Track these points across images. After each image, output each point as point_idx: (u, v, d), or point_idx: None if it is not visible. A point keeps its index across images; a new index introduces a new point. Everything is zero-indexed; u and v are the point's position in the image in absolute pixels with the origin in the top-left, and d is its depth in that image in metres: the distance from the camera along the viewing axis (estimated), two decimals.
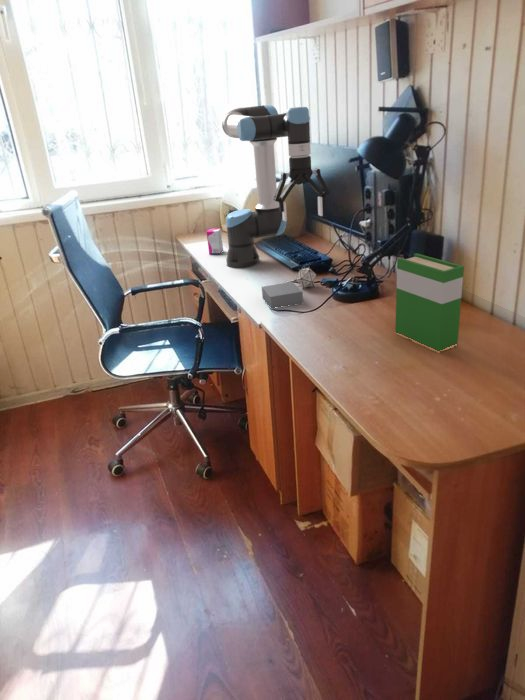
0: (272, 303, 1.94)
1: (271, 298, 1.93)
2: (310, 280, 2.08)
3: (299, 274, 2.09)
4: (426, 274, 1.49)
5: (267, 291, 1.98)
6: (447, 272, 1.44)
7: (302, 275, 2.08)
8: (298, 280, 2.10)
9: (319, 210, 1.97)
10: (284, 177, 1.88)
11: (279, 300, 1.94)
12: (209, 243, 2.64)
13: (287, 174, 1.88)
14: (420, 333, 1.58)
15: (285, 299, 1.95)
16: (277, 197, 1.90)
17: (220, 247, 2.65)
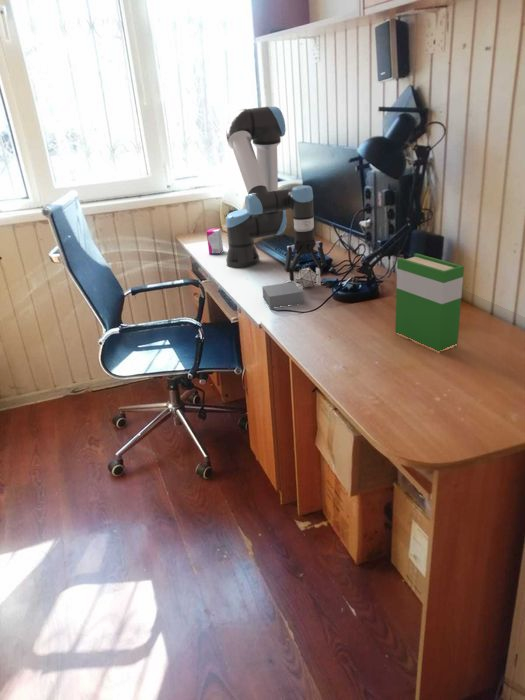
0: (271, 303, 1.94)
1: (270, 298, 1.93)
2: (311, 280, 2.08)
3: (299, 274, 2.09)
4: (426, 274, 1.49)
5: (267, 291, 1.98)
6: (447, 272, 1.44)
7: (302, 275, 2.08)
8: (298, 280, 2.10)
9: (317, 280, 2.12)
10: (290, 250, 2.03)
11: (279, 300, 1.94)
12: (209, 243, 2.64)
13: (292, 246, 2.04)
14: (420, 333, 1.58)
15: (284, 299, 1.95)
16: (287, 268, 2.06)
17: (220, 247, 2.65)
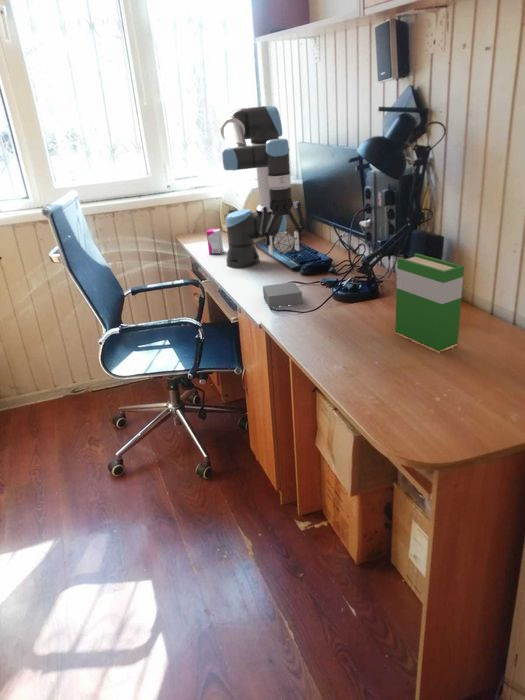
0: (270, 303, 1.94)
1: (269, 298, 1.93)
2: (288, 244, 1.91)
3: (276, 238, 1.92)
4: (426, 274, 1.49)
5: (267, 291, 1.98)
6: (447, 272, 1.44)
7: (279, 239, 1.91)
8: (275, 245, 1.93)
9: (296, 245, 1.95)
10: (265, 211, 1.86)
11: (278, 300, 1.94)
12: (209, 243, 2.64)
13: (267, 207, 1.87)
14: (420, 333, 1.58)
15: (283, 299, 1.95)
16: (262, 231, 1.89)
17: (220, 247, 2.65)
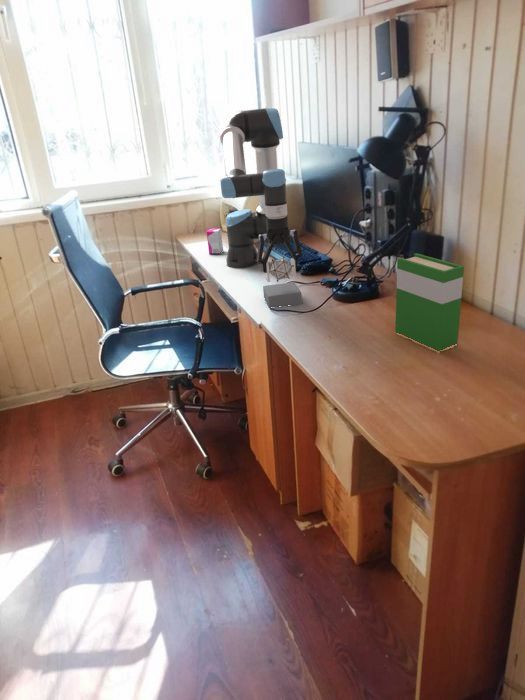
0: (270, 303, 1.94)
1: (269, 298, 1.94)
2: (285, 272, 1.93)
3: (273, 265, 1.94)
4: (426, 274, 1.49)
5: (267, 291, 1.99)
6: (447, 272, 1.44)
7: (276, 266, 1.93)
8: (272, 272, 1.95)
9: (292, 271, 1.97)
10: (262, 239, 1.88)
11: (277, 300, 1.94)
12: (209, 243, 2.64)
13: (264, 235, 1.89)
14: (420, 333, 1.58)
15: (283, 299, 1.95)
16: (259, 259, 1.91)
17: (220, 247, 2.65)
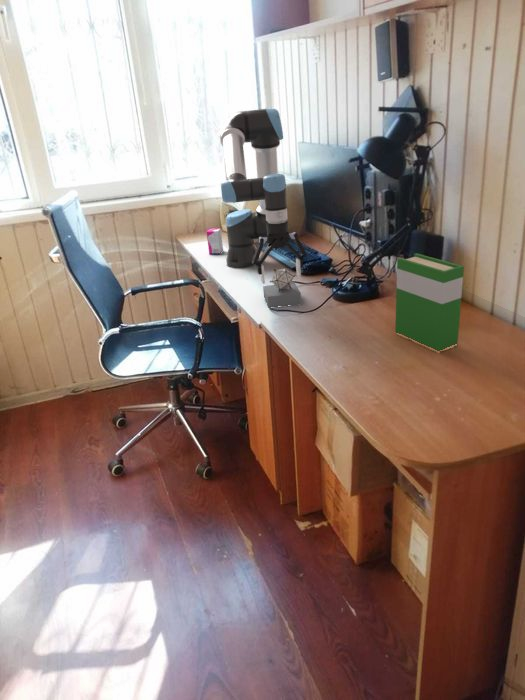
0: (269, 303, 1.94)
1: (268, 298, 1.94)
2: (287, 282, 1.94)
3: (275, 275, 1.96)
4: (426, 274, 1.49)
5: (266, 291, 1.99)
6: (447, 272, 1.44)
7: (278, 276, 1.95)
8: (274, 281, 1.97)
9: (297, 272, 1.98)
10: (261, 242, 1.89)
11: (277, 300, 1.94)
12: (209, 243, 2.64)
13: (264, 239, 1.89)
14: (420, 333, 1.58)
15: (282, 299, 1.95)
16: (255, 261, 1.91)
17: (220, 247, 2.65)
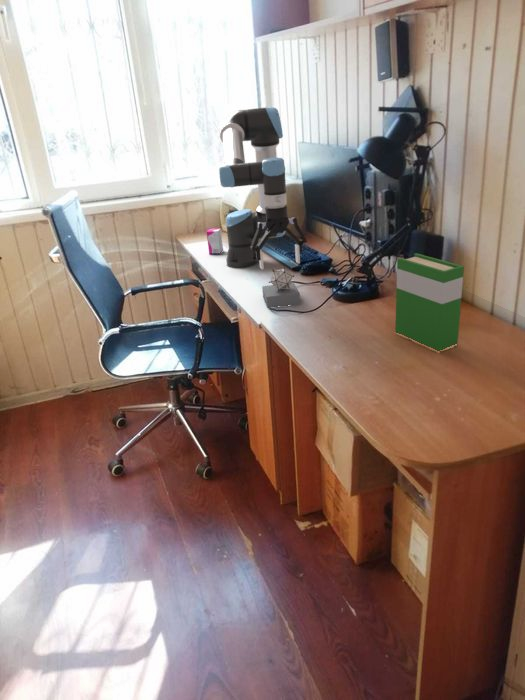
0: (268, 303, 1.95)
1: (267, 298, 1.94)
2: (286, 282, 1.94)
3: (274, 275, 1.96)
4: (426, 274, 1.49)
5: (265, 291, 1.99)
6: (447, 272, 1.44)
7: (277, 276, 1.94)
8: (273, 282, 1.97)
9: (296, 257, 1.96)
10: (260, 227, 1.87)
11: (276, 300, 1.95)
12: (209, 243, 2.64)
13: (263, 224, 1.87)
14: (420, 333, 1.58)
15: (282, 300, 1.95)
16: (253, 246, 1.89)
17: (220, 247, 2.65)
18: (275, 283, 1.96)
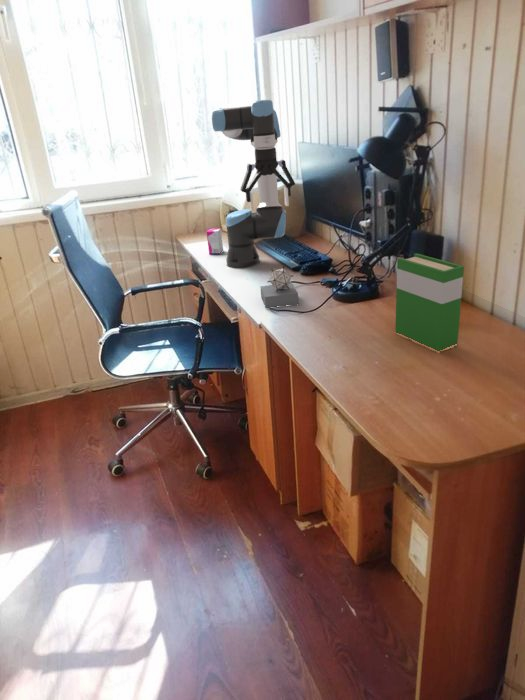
0: (267, 303, 1.95)
1: (266, 298, 1.94)
2: (284, 282, 1.95)
3: (272, 275, 1.96)
4: (426, 274, 1.49)
5: (264, 291, 1.99)
6: (447, 272, 1.44)
7: (275, 276, 1.95)
8: (271, 281, 1.97)
9: (285, 200, 2.03)
10: (250, 168, 1.93)
11: (274, 300, 1.95)
12: (209, 243, 2.64)
13: (253, 165, 1.94)
14: (420, 333, 1.58)
15: (280, 300, 1.95)
16: (243, 188, 1.96)
17: (220, 247, 2.65)
18: (274, 283, 1.96)
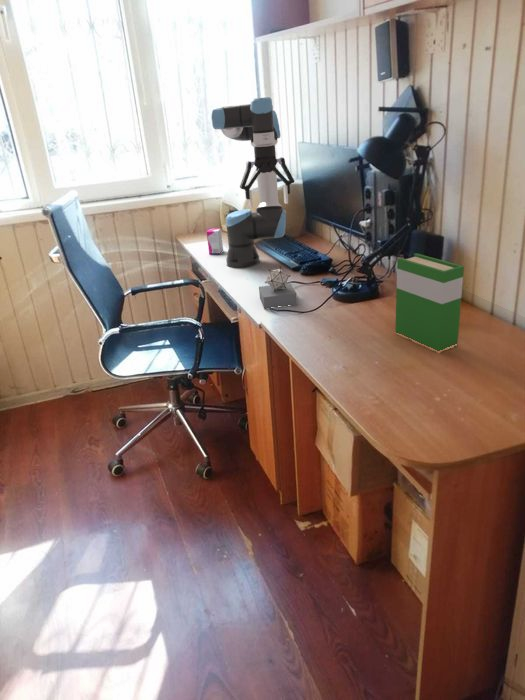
0: (265, 304, 1.94)
1: (264, 299, 1.93)
2: (282, 282, 1.95)
3: (270, 276, 1.96)
4: (426, 274, 1.49)
5: (262, 291, 1.99)
6: (447, 272, 1.44)
7: (273, 277, 1.95)
8: (269, 282, 1.97)
9: (285, 198, 2.03)
10: (249, 165, 1.94)
11: (273, 301, 1.94)
12: (209, 243, 2.64)
13: (252, 163, 1.94)
14: (420, 333, 1.58)
15: (278, 300, 1.94)
16: (243, 185, 1.96)
17: (220, 247, 2.65)
18: (271, 283, 1.96)
